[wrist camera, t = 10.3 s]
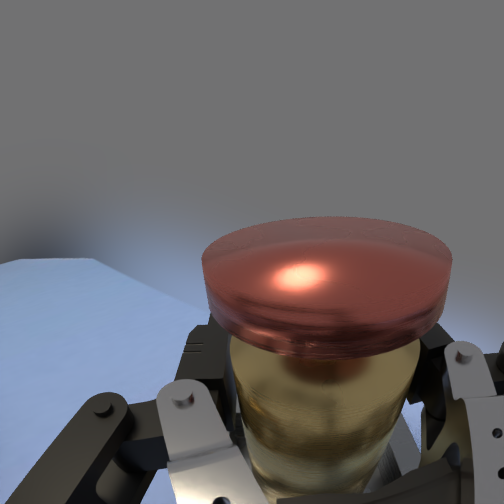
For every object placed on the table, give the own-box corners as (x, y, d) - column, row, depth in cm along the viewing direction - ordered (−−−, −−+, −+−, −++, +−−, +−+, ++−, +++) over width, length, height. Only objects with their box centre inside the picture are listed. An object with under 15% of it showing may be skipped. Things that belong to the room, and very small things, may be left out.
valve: (251, 539, 8) (171, 318, 4) (251, 449, 13) (217, 225, 9) (378, 520, 7) (504, 276, 4) (353, 437, 13) (386, 212, 9)
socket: (180, 587, 5) (152, 581, 4) (203, 418, 16) (191, 382, 15) (443, 548, 5) (479, 527, 4) (384, 398, 16) (394, 360, 15)
